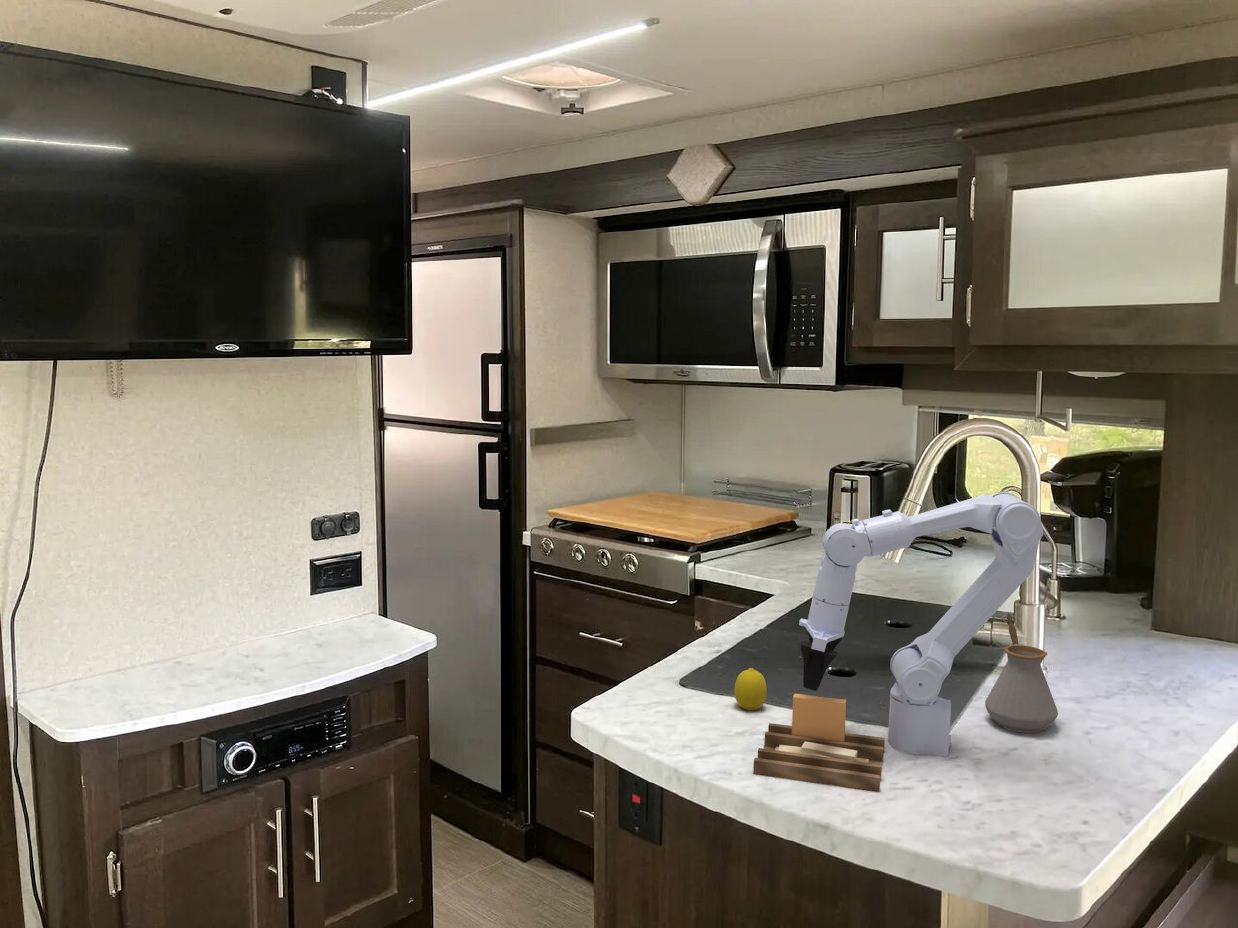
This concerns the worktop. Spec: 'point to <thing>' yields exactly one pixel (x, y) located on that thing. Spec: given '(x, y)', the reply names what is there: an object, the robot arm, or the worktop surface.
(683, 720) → the worktop surface
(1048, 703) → the coffee pot
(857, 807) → the worktop surface
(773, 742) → the rack
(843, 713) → the orange square slab
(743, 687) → the lemon
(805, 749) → the offcut stack
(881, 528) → the robot arm
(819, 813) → the worktop surface
